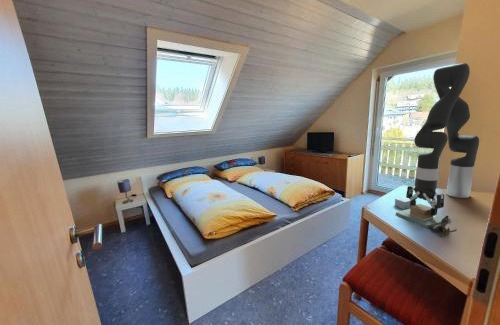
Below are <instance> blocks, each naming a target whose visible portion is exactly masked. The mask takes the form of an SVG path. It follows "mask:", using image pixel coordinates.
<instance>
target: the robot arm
mask: <svg viewBox="0 0 500 325" xmlns="http://www.w3.org/2000/svg"><path fill="white" fill-rule="evenodd" d="M470 73H471V72H470V66H469V64H468V63H466V62H461V63H457V64H451V65H446V66H442V67H438V68H436V69H435V70H434V72H433V76H432V77H433V85H434V87H435V91H436V93H437V95H438V98H439V100H438V101H436V102H435V103H434V104H433V105H432V107H431V108H430V110H429V112H428V115H427V119H426V121H425V123H424V124H423V125H422V126H421V128H420V129H419V130H418V131H417V133H416V135H415V137H414V140H413V141H414V145H415V146H416V147H418V148H420V149H422V148H423V149H432V151H431V152H424V153H423V152H422V153H420V154H419V155H418V157H417V166H416V171H415V177H414V179H415V180H414V185H409V186H407V190H406V194H405V195H406V196H405V198H407V199H410V207H411V206H412V205H417V199H420V200H424V201H427V202H428V204H429V205H430V207H431V214H430V215H431V216H435V215H436V214H438V210H439V209H442V208H444V206H445V194H444V193H437V191H436V190H437V186H438V180H439V179H438V178H439V163H440V158H441V155H442V154H443V151H444V148H445V147H446V145H447V142H448V148H449V150H450V151H451V152H453V153H462V154H465V155H464V156H461V157H457V158H456V157H455V158H452V159H451V160H450V162H449V163H450V164H449V172H448V179H447V180H448V181H447V187H446V195H447V196H449V197H453V198H456V199H457V198H459V199H467V198H470V196H471V190H472V185H473V177H474V176H473V175H474V170H475V163H476V159H477V153H478V150H479V145H480V138H479V136H478V135H468V134H467V135H466V134H465V135H462V134H459V132H460V130H461V129H462V128H463V127H464V126H465V125H466V124H467V122H468V121H469V120H470V118H471V117H470V116H471V112H470V106H469V104H468V103H467V102H466V100H464V99H463V98H462V97H460V96H461V94H462V92H463V89H464V88H465V86H466V84H467V83H468V80H469V77H470ZM445 128H446V132H444V131H441V130H442V129H445ZM439 130H440V131H439ZM414 192H415V193H414Z"/></svg>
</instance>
